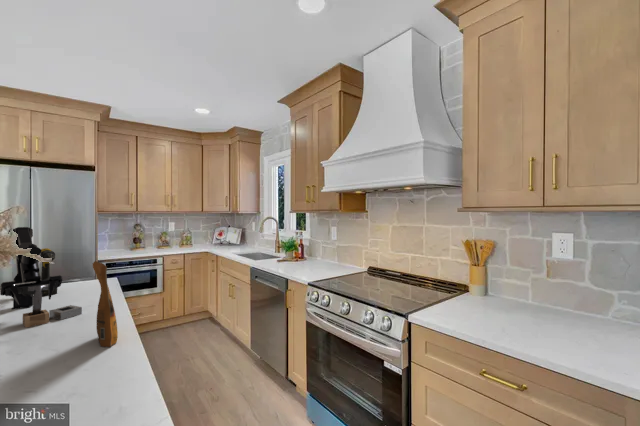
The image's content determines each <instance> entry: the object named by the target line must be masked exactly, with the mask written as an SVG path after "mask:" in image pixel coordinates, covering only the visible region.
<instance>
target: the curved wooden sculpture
mask: <svg viewBox="0 0 640 426" xmlns="http://www.w3.org/2000/svg"><path fill="white" fill-rule="evenodd" d="M92 269H93V271H94V273H95V274H96V278H97V280H98V283H99V286H100V296H99V300H98V306H97V311H96V312H97V313H96V333H97V338H98V341H99V345H100V347H102V348H111V347H112V345H115V344H117V341H118V337H119V332H118V324H117V323H118V322H117V317H116V312H115V311H116V310H115V307H114V303H113V299H112V294H111V291H110V289H109V288H110V287H109V284H108V278H107V277H108V275H107V273H108V271H107V270H108V266H107V265H105V264H104V263H102V262H99V261H98V260H95V261H93V262H92Z"/></svg>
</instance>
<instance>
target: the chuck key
mask: <svg viewBox="0 0 640 426" xmlns="http://www.w3.org/2000/svg"><path fill="white" fill-rule="evenodd" d="M47 289H49V285H44V286H43V285H38V286H34V287H28V292H29V291H34V297H33V305H32V311H31V312H32V315H37V314H41V310H42V304H43V296H42V292H43V290H47Z"/></svg>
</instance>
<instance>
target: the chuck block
mask: <svg viewBox="0 0 640 426" xmlns="http://www.w3.org/2000/svg"><path fill="white" fill-rule="evenodd" d="M82 311H83V310H82V306H76V305H71V304H70V305H66V306H62V307H57V308H54V309H50V310H49V311H48V312H49V319H50V318H51V319H55V320H58V321H59V320H60V321H62V320H65V319H69V318H73V317H76V316H79V315H83V314H82V313H83V312H82Z"/></svg>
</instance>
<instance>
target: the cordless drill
mask: <svg viewBox="0 0 640 426" xmlns="http://www.w3.org/2000/svg"><path fill="white" fill-rule="evenodd" d="M40 249H41V252H43V255H41V257H43V258H52V261H51V262H53V261H54V260H55V259H56V253H55V252H54V251H53V250H52V249H50V248H48V247H46V248H45V247H43V248H40ZM51 262H50V263H49V262H42V261H41V272H40V276H41V281H44V280H49V278H50V276H51V273H50V266H51V265H50V264H51ZM43 286H44V285H43ZM57 294H58V287H57V288H56V289H54V290H53V292H52V295H51V296H53V295H57ZM45 296H46V297H47V296H49V290H48V289H47V290H43V292H42V297H45Z"/></svg>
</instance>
